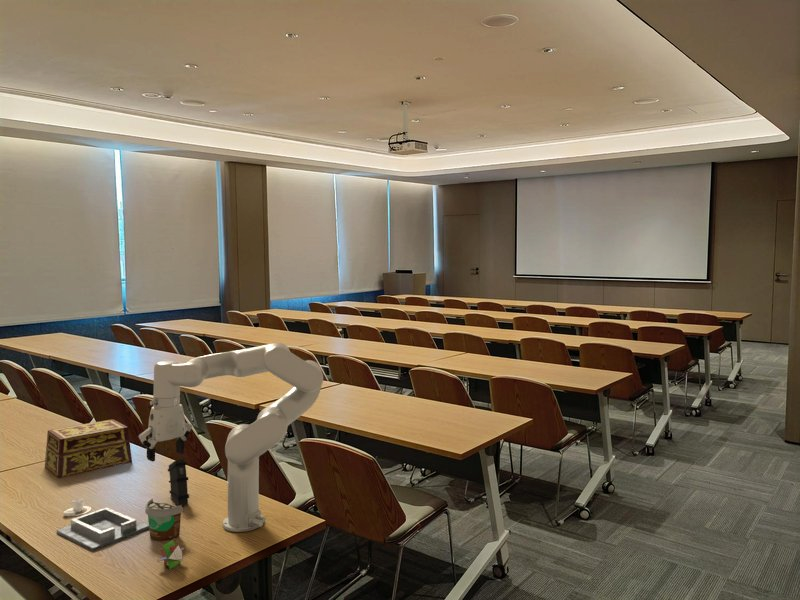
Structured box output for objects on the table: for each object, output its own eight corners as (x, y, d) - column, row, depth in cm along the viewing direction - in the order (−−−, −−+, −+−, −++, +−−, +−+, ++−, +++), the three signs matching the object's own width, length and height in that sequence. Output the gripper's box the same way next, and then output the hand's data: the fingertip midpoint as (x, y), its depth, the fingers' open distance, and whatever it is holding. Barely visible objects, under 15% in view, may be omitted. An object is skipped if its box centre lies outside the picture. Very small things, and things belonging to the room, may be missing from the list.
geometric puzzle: (147, 560, 162) (160, 540, 160) (165, 548, 168) (178, 530, 166) (164, 579, 160) (177, 560, 158) (181, 567, 167) (195, 548, 164)
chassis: (149, 528, 186) (149, 517, 185) (92, 551, 171) (92, 539, 170) (113, 513, 197) (113, 502, 196) (56, 533, 182) (56, 522, 181)
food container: (136, 538, 179) (135, 505, 178) (151, 530, 185) (151, 498, 184) (168, 546, 174) (167, 512, 174) (183, 537, 180) (182, 505, 179)
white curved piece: (65, 520, 192) (65, 508, 191) (57, 512, 197) (57, 500, 197) (94, 512, 198) (94, 500, 198) (86, 505, 203) (86, 493, 203)
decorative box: (115, 451, 260) (115, 417, 259) (132, 462, 247) (131, 426, 246) (44, 466, 240) (43, 429, 239) (58, 478, 227) (57, 440, 226)
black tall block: (180, 506, 199) (174, 460, 203) (171, 510, 209) (166, 466, 213) (191, 503, 201) (186, 458, 205) (182, 507, 211) (176, 464, 216)
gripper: (146, 408, 174) (146, 466, 175) (198, 399, 187) (197, 452, 188) (133, 404, 178) (132, 460, 179) (184, 395, 192) (183, 447, 193)
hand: (165, 456), depth 184 cm, fingers open, 9 cm apart
